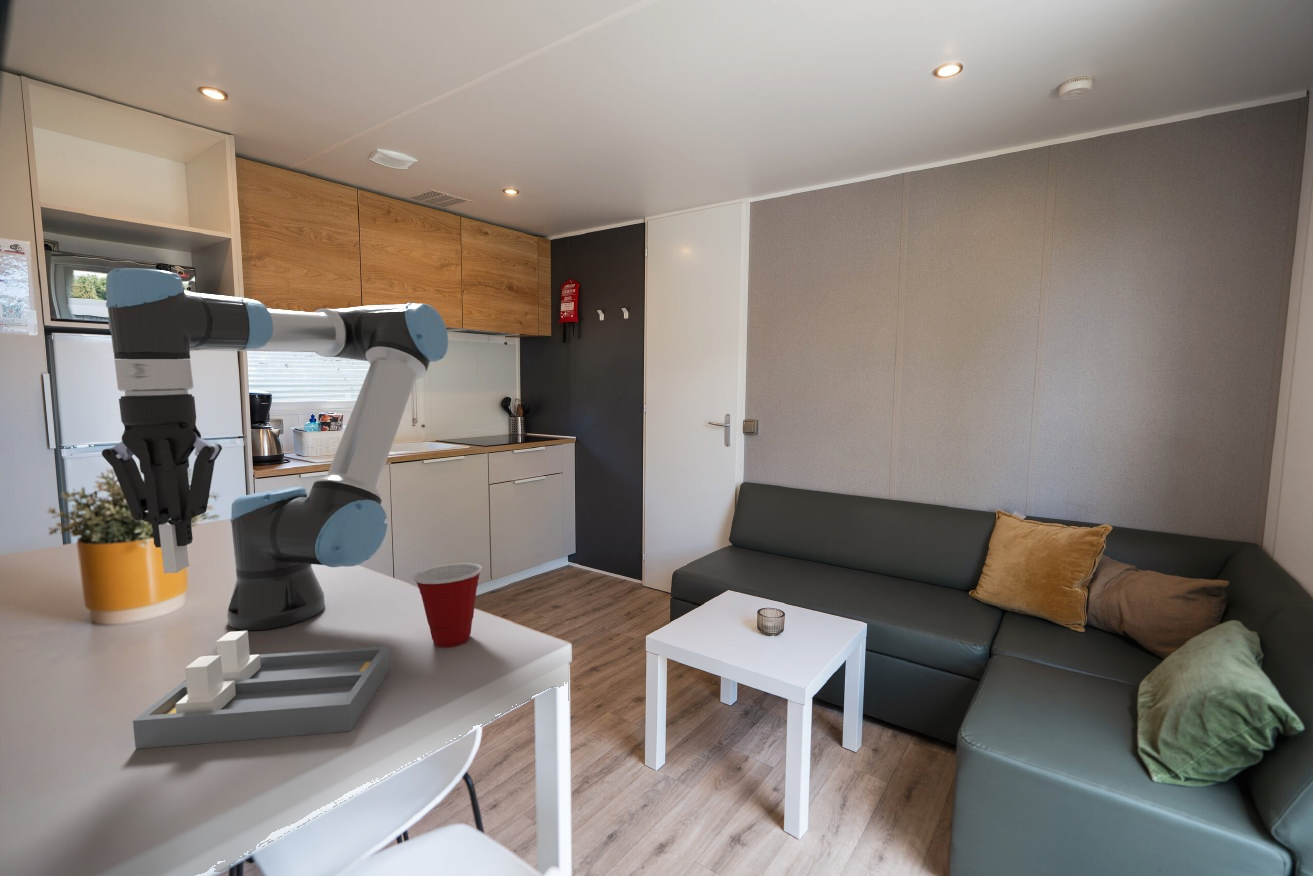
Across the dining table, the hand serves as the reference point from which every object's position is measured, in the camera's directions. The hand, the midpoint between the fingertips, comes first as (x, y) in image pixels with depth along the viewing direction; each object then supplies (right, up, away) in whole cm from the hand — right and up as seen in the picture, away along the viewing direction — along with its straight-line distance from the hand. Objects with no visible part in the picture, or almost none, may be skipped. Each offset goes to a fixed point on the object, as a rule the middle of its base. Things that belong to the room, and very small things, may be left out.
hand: (176, 569), depth 80 cm
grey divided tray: (+14, -18, 0) cm, 23 cm away
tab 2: (+6, -15, +3) cm, 17 cm away
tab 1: (+8, -16, -5) cm, 19 cm away
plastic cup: (+30, -16, +19) cm, 39 cm away
